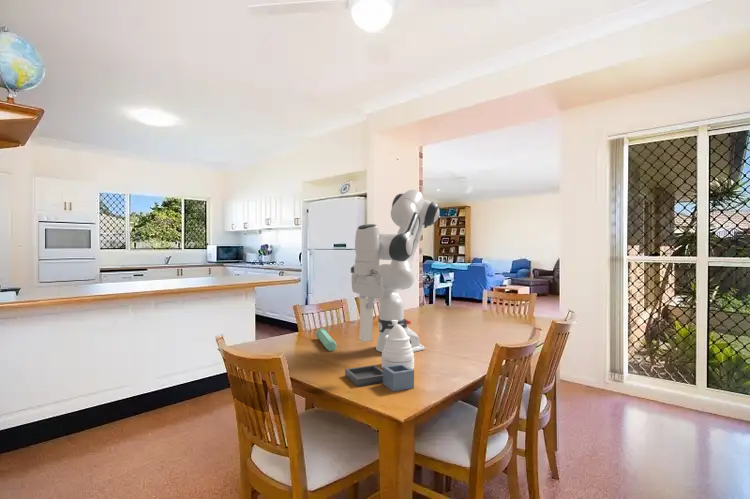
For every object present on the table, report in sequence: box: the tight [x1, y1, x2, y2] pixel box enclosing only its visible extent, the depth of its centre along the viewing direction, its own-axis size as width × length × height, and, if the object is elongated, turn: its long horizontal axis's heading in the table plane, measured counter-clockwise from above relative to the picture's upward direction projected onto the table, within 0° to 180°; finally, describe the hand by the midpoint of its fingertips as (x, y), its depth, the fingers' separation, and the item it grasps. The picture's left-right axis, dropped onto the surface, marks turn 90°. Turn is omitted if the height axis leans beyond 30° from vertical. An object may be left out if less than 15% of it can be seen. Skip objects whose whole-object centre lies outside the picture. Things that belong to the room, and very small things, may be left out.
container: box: [315, 327, 337, 352], centre depth 190 cm, size 6×6×25 cm
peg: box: [358, 297, 374, 343], centre depth 142 cm, size 4×4×15 cm
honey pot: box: [381, 320, 415, 370], centre depth 157 cm, size 13×13×18 cm
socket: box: [382, 364, 415, 392], centre depth 135 cm, size 8×8×6 cm
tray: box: [344, 364, 383, 388], centre depth 143 cm, size 12×12×2 cm
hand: (366, 307), depth 142 cm, fingers closed on peg, 3 cm apart
